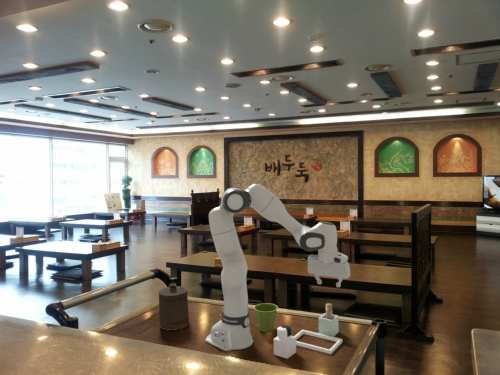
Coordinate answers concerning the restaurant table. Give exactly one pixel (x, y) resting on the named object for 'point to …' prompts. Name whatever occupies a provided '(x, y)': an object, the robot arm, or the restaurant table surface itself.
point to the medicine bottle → (284, 342)
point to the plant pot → (266, 316)
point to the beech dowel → (329, 311)
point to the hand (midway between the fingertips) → (328, 285)
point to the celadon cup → (328, 325)
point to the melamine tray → (324, 350)
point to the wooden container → (173, 307)
